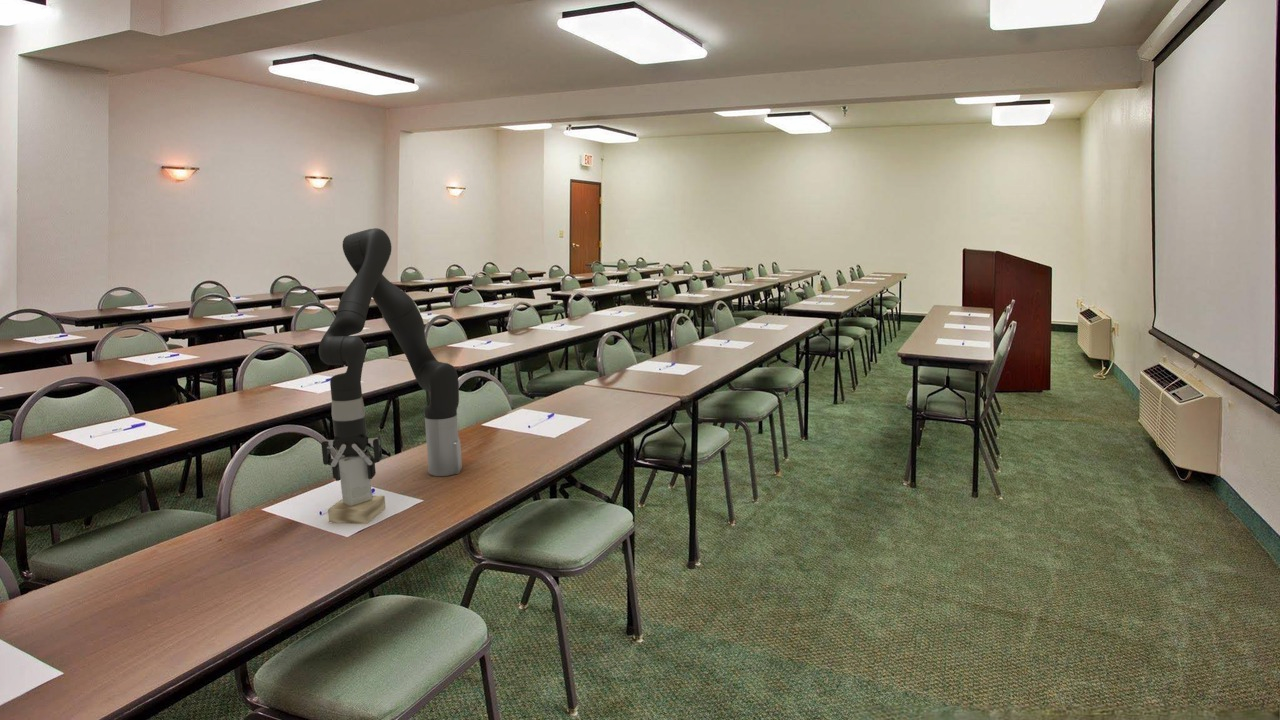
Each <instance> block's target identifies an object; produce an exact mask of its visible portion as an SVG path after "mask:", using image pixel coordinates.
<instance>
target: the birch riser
mask: <svg viewBox="0 0 1280 720" xmlns="http://www.w3.org/2000/svg"><path fill="white" fill-rule="evenodd" d="M385 508H386V499H385V495H372V499H371V500H368V501H365V502H362V503H359V504H356V505H353V506H349V505H347V504H345V503H343V498H342V499H340V500H339V501H338V502H336V503H335V504H333V505H331V506H330V507H329V508H328V509H327V516H328V517H327V518H328V523H329V522H332V524H356V525H357V524H360V525H361V524H363V525H367V524H369V523H370V522H371V521H373V520H372V519H375V518H376V517H377V516H379V515H380V514H381V513H382V512H383V511H384V510H385ZM381 511H382V512H381ZM380 512H381V513H380ZM379 513H380V514H379Z"/></svg>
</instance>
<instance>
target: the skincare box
mask: <svg viewBox="0 0 1280 720" xmlns="http://www.w3.org/2000/svg"><path fill="white" fill-rule="evenodd" d="M338 462H339V471H340V480H339V481H340V488H341V496H342V499H343V503H345V504H347V505H349V506H353V505H356V504H359V503H362V502H365V501H368V500H371V499H372V496H373V492H372V482H371V480H372V479H368V470H367V465H368V464H367V462H366V461H365V460H364V459H362V458H361V457H360V455H358V456H352V455H351V456H344V455H343V457H341V458H340V459H339V461H338Z"/></svg>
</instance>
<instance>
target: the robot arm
mask: <svg viewBox="0 0 1280 720" xmlns="http://www.w3.org/2000/svg"><path fill="white" fill-rule="evenodd" d="M342 250H343V254H344V256H345V258H346V261H347V262H348V264H349V265H350V267H351V268H352V270H353V271H354V273H355V274H356V275H355V277H354V278H353V280H352V281H351V282H350V283H349V285H348V286H347V287H346V289H345V290H344V292H343V293H342V295H341V297H340V299H339V302H338V305H337V310H336V313H335V317H334V320H333V321H332V323H331V324H330V326H329V327H328V329H327V330H326V332H325V334H324V335H323V336H322V338H321V340H320V342H319V344H318V345H319V346H318V355H319V356H318V357H319V358H320V361H322V363H324V364H326V365H328V366H347V369H346V371H345V372H342V373H338V374H335V375H332V377H331V378H330V379H329V384H330V386H329V387H330V396H331V417H332V418H331V419H332V425H333V426H332V427H333V435H334V438H333V439H328V438H326V439H324V440H323V441H322V442H321V444H320V445H321V453H322V463H323V464H324V465H325V466H327V465H328V466H331V470H332V478H333V479H335V481H336V482H338V481H341V480H340V471H339V462H338V461H339V459H340V458H341V457H344V456H351V455H352V456H358V455H360V457H361V458H362V459H364V460H365V461H366V462H367V464H368V465H367V470H368V479H370V480H372V479H373V478H374V477H375V475H376V463H379V462H380V461H381V460H382V459H383V453H382V441H381V437H380V436H376V437H371V438H369V437H368V434H367V423H366V413H365V404H364V399H363V391H362V390H363V389H362V383H361V382H362V373H363V367H364V363H365V358H366V352H367V351H366V350H367V349H366V345H365V343H364V341H363V340H362V338H360V337H359V336H356V334H357V335H358V334H359V333H361V332H362V331H363V330H364V327H365V326H366V325H365V323H366V320H367V316H368V312H369V309H370V306H371V305H370V304H371V300H372V299H373V301H374V303H375V304H376V306H377V307H378V310H379V312H380V313H381V315H382V317H383V319H384V321H385V323H386V324H387V327H389V329H390V331H391V333H392V335H393V336H394V338H395V340H396V341H397V343H398V345H399V347H400V348H401V350H402V352H403V354H404V355H405V357H406V359H407V361H408V364H409V365H410V368H411V370H412V373H413V375H414V377H415V380H416V382H417V384H418V385H419V387H420V388H421V389H422V390H424V391H426V392H428V393H430V403H429V404H427V405H426V406H425V407H424V408H423V409H424V412H423V413H424V423H425V425H424V426H425V438H426V452H427V454H426V455H427V469H428V474H429V475H431V476H434V477H447V476H452V475H459V474H460V472H461V470H462V468H463V465H462V463H463V462H462V450H461V449H462V448H461V447H462V446H461V438H460V437H459V427H458V411H457V410H458V408H459V403H460V391H459V390H460V388H459V386H460V385H459V374H458V372H457V369H456V368H455V367H454V365H452V364H450V363H448V362H447V363H446V362H442V361H439V360H438V359H436V357H435V356H434V354H433V352H432V351H431V349H430V348H429V345H428V344H427V343H428V342H427V339H426V331H425V329H426V328H425V322H424V319H423V317H422V314H421V313H420V311H419V309H418V307H417V305H416V303H415V302H414V300H413V299H412V297H411V296H409V294H408V293H406V292H405V291H404V290H402V289H401V288H399V287H398V286H397V285H396V284H394V283H393V282H392V281H390V280H389V279H387V278H386V276H384V274H383V272H384V270H385V268H386V267H387V264H388V262H389V260H390V257H391V254H392V241H391V239H390V237H389V235H388V234H387V233H386V231H384V230H383V229H381V228H377V227H375V228H368V229H365V230H362V231H357V232H353V233H350V234H348V235H346V236H345V237H344V238H343V241H342ZM368 444H370V447H371V448H373V454H371V451H370V450H369V448H368V447H367V446H368ZM333 446H334V447H335V449H337V453H335V456H334V458H332V452H331V449H332V448H333Z"/></svg>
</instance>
